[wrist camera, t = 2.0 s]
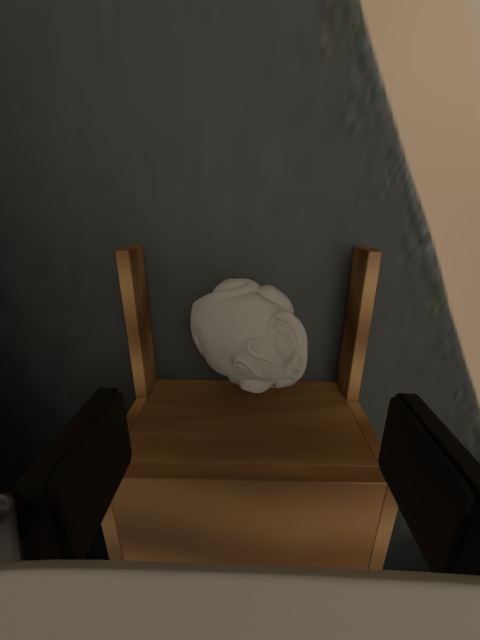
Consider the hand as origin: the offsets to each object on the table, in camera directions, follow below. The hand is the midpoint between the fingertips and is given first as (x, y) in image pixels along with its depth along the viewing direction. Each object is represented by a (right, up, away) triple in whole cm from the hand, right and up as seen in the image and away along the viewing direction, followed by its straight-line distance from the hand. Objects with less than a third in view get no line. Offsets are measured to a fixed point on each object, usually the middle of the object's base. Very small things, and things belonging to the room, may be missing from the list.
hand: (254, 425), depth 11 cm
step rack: (0, -1, +12) cm, 12 cm away
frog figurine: (0, +4, +11) cm, 12 cm away
